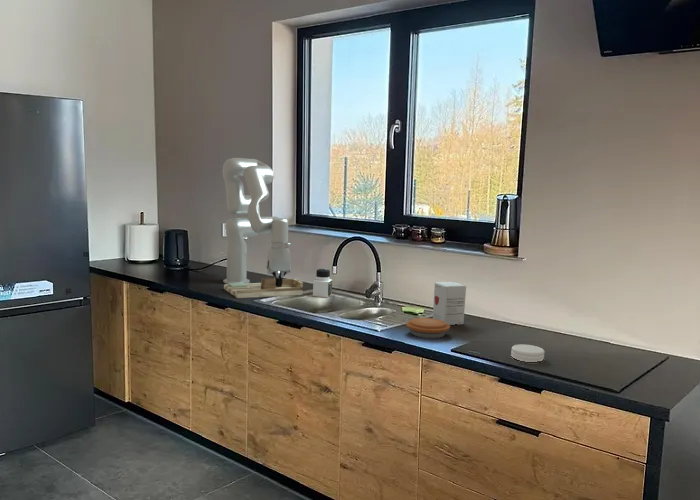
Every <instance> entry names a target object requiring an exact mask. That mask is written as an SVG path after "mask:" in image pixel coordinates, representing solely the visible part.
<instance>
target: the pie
mask: <svg viewBox="0 0 700 500" xmlns="http://www.w3.org/2000/svg"><path fill="white" fill-rule="evenodd" d="M405 326H406V327H407V328H408V330H409V332H410V333H411V335H412V334H413V335H412V336H414V335H415V336H414V337H416V336H418V337H417V338H420V337H422V338H421V339H429V338H435V339H440V337H441V338H443V337H444V336H445V335H446V333H447V331H449V330H450V328H451V325H449V324H447V323H445V322H444V321H442V320H438V319H433V317H432V318H431V317H417V318H416V317H415V318H413V319H410V320H409V321H406V323H405Z"/></svg>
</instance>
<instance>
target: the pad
mask: <svg viewBox="0 0 700 500" xmlns="http://www.w3.org/2000/svg"><path fill="white" fill-rule="evenodd" d="M228 285H229V286H230V287H232V288H237V287H247V285H246V284H244V283H228Z"/></svg>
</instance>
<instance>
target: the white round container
mask: <svg viewBox="0 0 700 500" xmlns="http://www.w3.org/2000/svg"><path fill="white" fill-rule="evenodd" d="M510 353H511V354H510V357H511V356H512V357H513V358H515V359H517V360H520V361H525V362H537V361H542V360H543V359H544V360H545V350H544V349H543V347H539V346H537V345H532V344H524V343H523V344H521V343H520V344H514V345H513V346H512V347H511V351H510ZM512 357H511V358H512ZM513 358H512V359H513ZM520 361H519V362H520Z"/></svg>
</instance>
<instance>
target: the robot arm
mask: <svg viewBox="0 0 700 500" xmlns="http://www.w3.org/2000/svg"><path fill="white" fill-rule="evenodd" d="M222 165H223V166H222V176H223V178H222V179H223V181H224V185H225V194H226V195H225V197H226V207H227V212H228V213H229V215H234V216H240V215H243V216H244V215H245V217H233V218H229V219H228V220H227V221H226V222H225V224H224V228H225V235H226V278H225V279H223V281H222V282H223V283H224V284H228V283H244V284H247V283H251V282H250V279H248V278H247V273H248V272H247V271H248V269H247V267H248V262H247V261H248V245H247V243H246V241H245V239H244V238H250V237H251V238H253V237H257V236H258V235H259V234H261V235H262V234H270V248H268V252H267V257H266V269H267V270H266V271H267V272H266V274H268V275H272V277H273V278H274V277H275V279H276V286H277V287H282V280H283V279H284V277H285V275H287V274H291V268H292V267H291V265H292V263H291V262H292V261H291V253H290V252H291V251H290V248H289V247H291V246H292V244H291V242H289V220H288V219H287V218H284V217H278V216H261V210H260V203H262V202H265V201H266V200H268V198H269V197H270V191H269V189H268V186H267V184H268V185H269V184H272V182H273V181H274V178H275V175H274V174H275V173H274V170H273V169H272V167H270V166H269V165H267V163H264V162H262V161H260V160H258V159H256V158H245V157H232V158H228V159H226V160H225V162H223V164H222ZM240 177H244V180H245V183H246V186H247V189H248V193H249V194H247V195H246V194H245V187H244V184H243V181H242V180H241V178H240ZM278 271H280V273H279V275H278Z"/></svg>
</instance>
